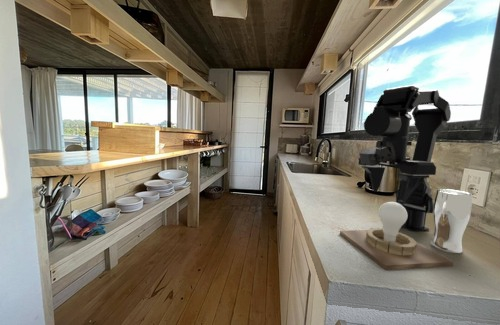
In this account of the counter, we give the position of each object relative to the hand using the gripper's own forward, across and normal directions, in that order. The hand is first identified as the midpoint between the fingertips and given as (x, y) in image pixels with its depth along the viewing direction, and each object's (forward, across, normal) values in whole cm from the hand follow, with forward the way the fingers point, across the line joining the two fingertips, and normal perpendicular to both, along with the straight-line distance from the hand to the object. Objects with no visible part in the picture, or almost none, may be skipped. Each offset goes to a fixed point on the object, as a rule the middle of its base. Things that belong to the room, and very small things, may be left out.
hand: (388, 195), depth 57 cm
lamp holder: (+13, +4, -2) cm, 13 cm away
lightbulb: (+12, +3, -2) cm, 12 cm away
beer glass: (+13, +5, +14) cm, 20 cm away
